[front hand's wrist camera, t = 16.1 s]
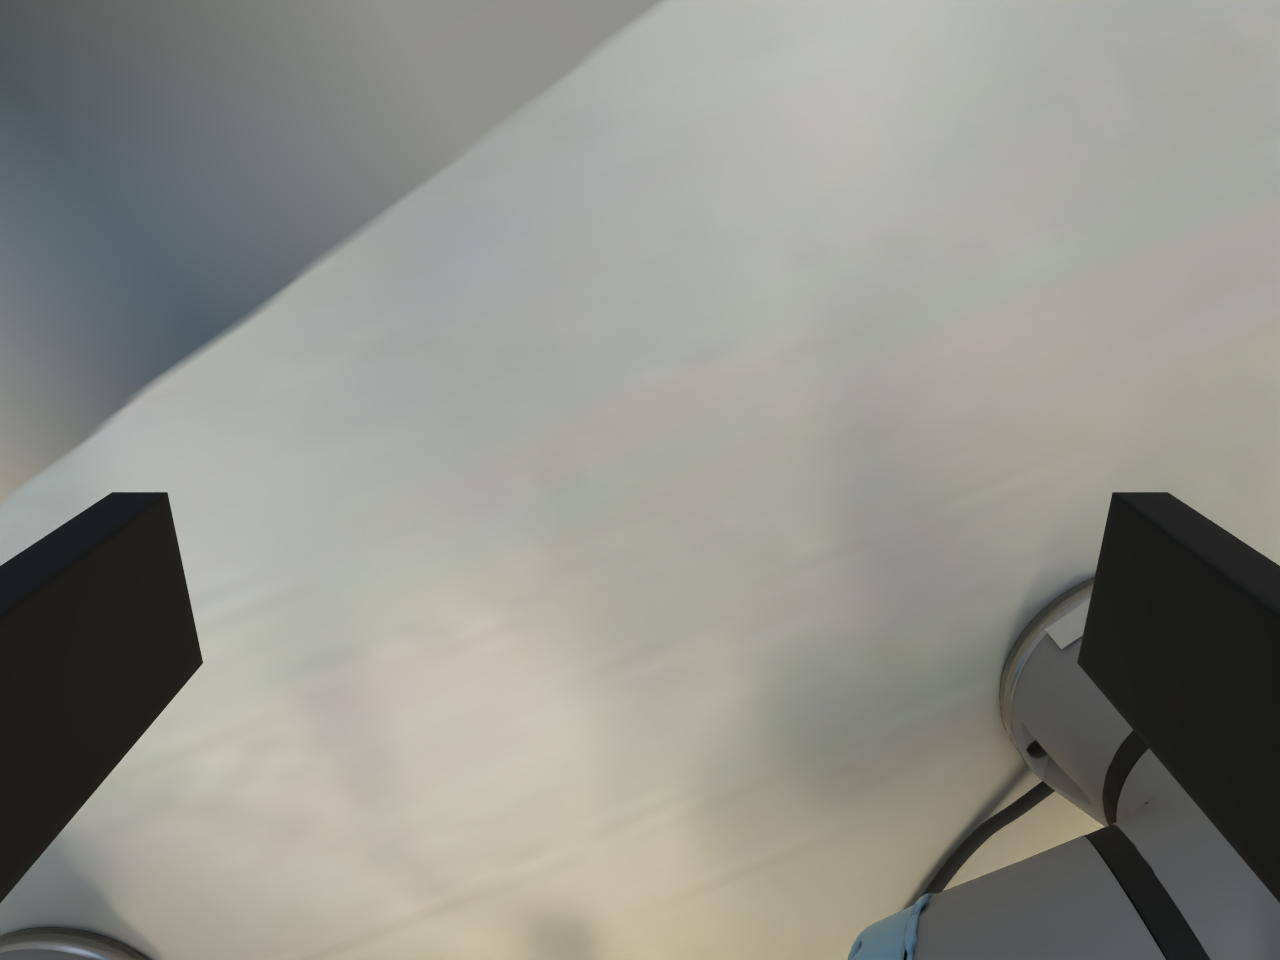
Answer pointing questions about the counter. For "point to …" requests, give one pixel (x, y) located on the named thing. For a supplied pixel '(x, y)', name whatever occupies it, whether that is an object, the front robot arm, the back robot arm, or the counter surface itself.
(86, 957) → the back robot arm
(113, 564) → the front robot arm
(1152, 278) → the counter surface
